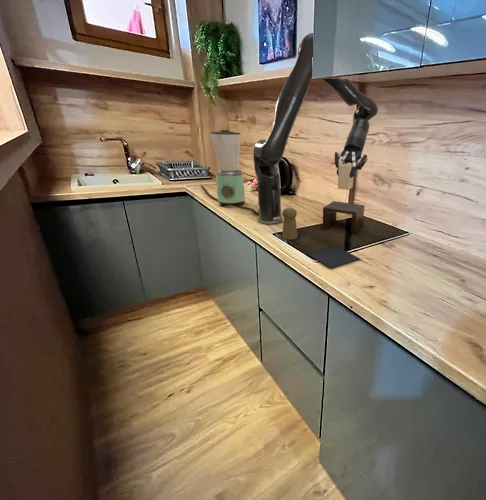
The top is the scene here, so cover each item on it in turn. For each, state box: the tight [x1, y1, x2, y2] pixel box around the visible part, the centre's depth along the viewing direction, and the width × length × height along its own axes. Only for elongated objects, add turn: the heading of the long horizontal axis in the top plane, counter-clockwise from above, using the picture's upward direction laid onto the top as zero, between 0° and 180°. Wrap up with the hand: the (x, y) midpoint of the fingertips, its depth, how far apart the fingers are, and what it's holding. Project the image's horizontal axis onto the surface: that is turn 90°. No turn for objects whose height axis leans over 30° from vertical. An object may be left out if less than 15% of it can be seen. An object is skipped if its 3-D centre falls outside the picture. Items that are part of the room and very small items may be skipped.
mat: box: [307, 246, 360, 270], centre depth 100 cm, size 12×12×1 cm
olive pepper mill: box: [281, 207, 299, 241], centre depth 113 cm, size 6×6×11 cm
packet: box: [337, 163, 354, 191], centre depth 120 cm, size 4×6×9 cm
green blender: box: [209, 129, 246, 207], centre depth 149 cm, size 19×13×35 cm
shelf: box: [322, 200, 365, 235], centre depth 127 cm, size 12×14×9 cm
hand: (344, 175), depth 119 cm, fingers closed on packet, 4 cm apart
